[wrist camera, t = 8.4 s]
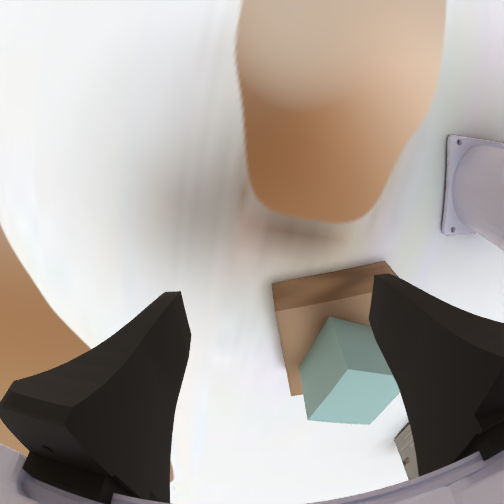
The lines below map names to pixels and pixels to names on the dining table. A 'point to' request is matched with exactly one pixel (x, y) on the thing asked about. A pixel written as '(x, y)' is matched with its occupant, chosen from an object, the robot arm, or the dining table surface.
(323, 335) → the teal block
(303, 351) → the walnut block
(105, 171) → the dining table surface
